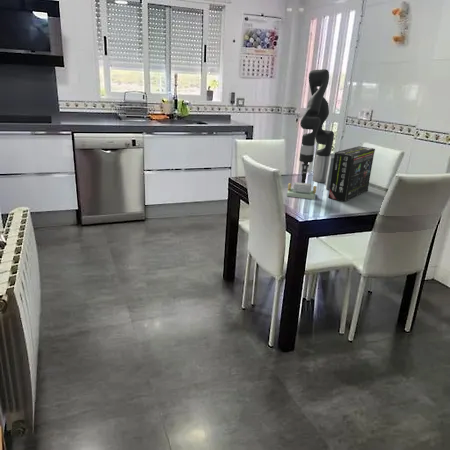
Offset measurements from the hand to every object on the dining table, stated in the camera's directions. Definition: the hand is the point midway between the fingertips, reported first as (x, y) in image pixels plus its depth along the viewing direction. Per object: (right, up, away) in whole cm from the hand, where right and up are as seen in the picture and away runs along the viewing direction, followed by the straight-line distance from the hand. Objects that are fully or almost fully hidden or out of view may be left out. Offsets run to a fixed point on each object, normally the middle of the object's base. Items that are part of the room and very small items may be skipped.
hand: (303, 181), depth 229 cm
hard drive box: (+23, -1, +25) cm, 34 cm away
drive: (-1, -7, +3) cm, 8 cm away
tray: (-1, -8, +3) cm, 8 cm away
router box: (+29, -7, +11) cm, 32 cm away
